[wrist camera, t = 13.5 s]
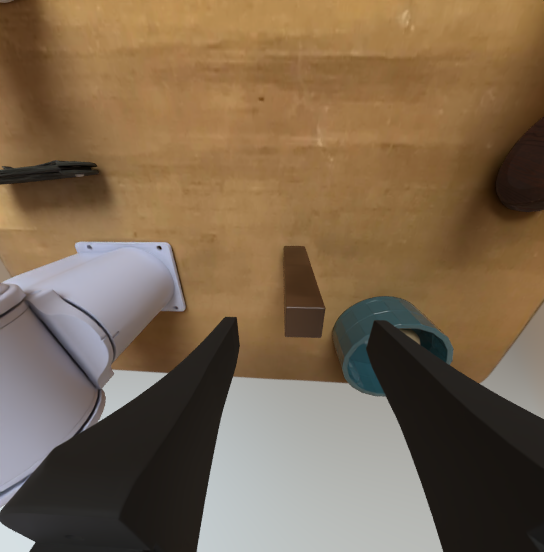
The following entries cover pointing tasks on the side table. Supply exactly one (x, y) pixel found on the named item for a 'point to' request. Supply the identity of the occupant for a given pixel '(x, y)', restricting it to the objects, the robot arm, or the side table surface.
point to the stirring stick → (301, 296)
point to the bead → (411, 334)
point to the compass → (524, 172)
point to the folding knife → (47, 172)
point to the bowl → (356, 331)
